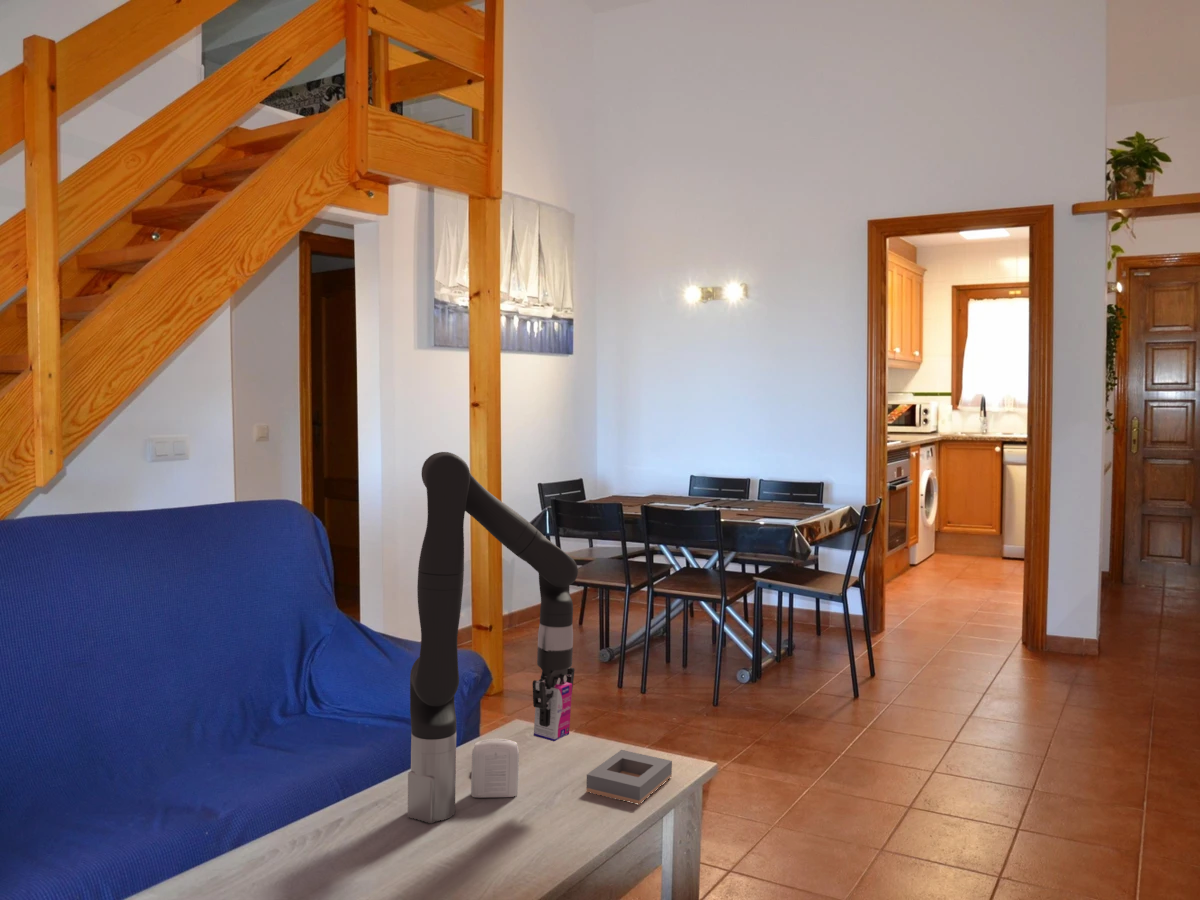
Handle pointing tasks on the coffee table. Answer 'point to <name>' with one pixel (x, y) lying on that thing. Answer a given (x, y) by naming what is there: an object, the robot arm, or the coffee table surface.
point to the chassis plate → (629, 776)
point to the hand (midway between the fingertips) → (552, 721)
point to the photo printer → (495, 768)
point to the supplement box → (556, 714)
